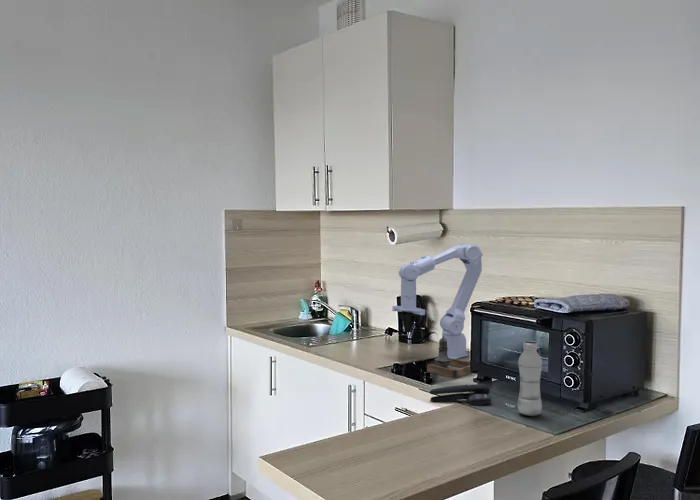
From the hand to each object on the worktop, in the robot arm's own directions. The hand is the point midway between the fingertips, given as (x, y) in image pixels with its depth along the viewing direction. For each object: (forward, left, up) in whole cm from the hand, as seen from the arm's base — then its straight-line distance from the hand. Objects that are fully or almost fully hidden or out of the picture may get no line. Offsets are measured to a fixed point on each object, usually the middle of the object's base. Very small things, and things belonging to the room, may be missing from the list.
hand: (408, 332), depth 238 cm
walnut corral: (+3, +23, -10) cm, 25 cm away
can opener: (+31, +46, -11) cm, 56 cm away
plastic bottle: (+27, +66, -11) cm, 72 cm away
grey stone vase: (+3, +19, -11) cm, 22 cm away
